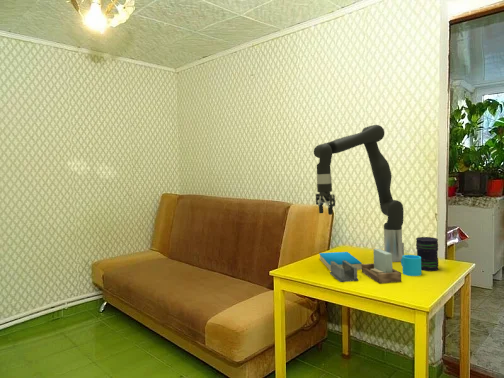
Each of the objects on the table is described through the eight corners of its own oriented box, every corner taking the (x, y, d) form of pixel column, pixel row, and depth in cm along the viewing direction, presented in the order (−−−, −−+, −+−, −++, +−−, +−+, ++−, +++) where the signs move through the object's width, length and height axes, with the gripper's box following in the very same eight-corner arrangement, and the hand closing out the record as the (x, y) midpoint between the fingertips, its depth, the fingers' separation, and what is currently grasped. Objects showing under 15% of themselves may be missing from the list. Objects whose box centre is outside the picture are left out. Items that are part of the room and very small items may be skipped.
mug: (425, 275, 166) (424, 258, 165) (409, 276, 164) (409, 259, 164) (408, 268, 178) (408, 252, 177) (394, 270, 176) (394, 253, 176)
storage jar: (428, 265, 182) (428, 236, 182) (443, 269, 173) (442, 239, 172) (412, 267, 180) (411, 238, 179) (425, 272, 170) (425, 241, 170)
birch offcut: (374, 272, 169) (374, 268, 169) (384, 275, 162) (383, 272, 162) (370, 272, 168) (370, 268, 168) (379, 276, 161) (379, 272, 161)
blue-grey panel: (379, 272, 172) (379, 248, 172) (392, 280, 160) (392, 254, 160) (374, 273, 172) (373, 249, 171) (386, 280, 160) (385, 254, 159)
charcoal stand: (346, 272, 175) (346, 260, 175) (358, 280, 162) (357, 267, 161) (330, 273, 174) (329, 261, 174) (340, 282, 161) (340, 269, 160)
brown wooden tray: (381, 270, 176) (381, 262, 175) (401, 281, 158) (401, 272, 158) (361, 272, 174) (361, 264, 174) (379, 283, 156) (378, 274, 156)
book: (329, 264, 179) (318, 252, 204) (330, 272, 179) (318, 259, 204) (363, 262, 179) (348, 251, 204) (363, 270, 180) (348, 258, 204)
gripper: (338, 182, 178) (340, 214, 179) (322, 182, 191) (324, 212, 192) (325, 183, 175) (327, 215, 176) (310, 183, 188) (312, 213, 189)
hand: (325, 213), depth 184 cm, fingers open, 8 cm apart
